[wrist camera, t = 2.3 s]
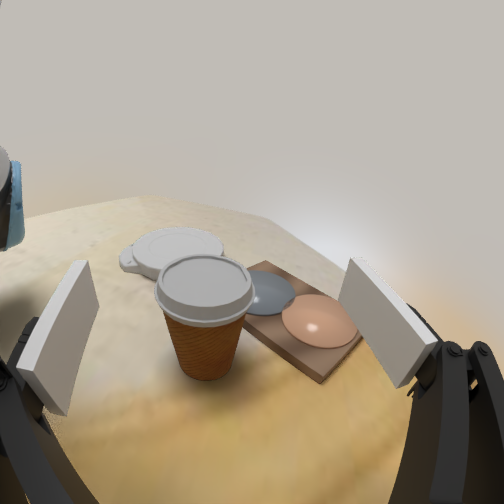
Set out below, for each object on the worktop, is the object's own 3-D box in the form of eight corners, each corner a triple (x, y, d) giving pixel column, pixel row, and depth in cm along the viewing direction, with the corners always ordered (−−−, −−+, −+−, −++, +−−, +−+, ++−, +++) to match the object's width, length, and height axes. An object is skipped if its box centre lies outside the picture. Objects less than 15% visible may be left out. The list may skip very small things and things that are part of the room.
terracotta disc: (264, 317, 36) (265, 314, 36) (311, 287, 43) (311, 286, 43) (331, 362, 30) (332, 360, 29) (368, 321, 37) (369, 319, 37)
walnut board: (202, 294, 41) (202, 286, 41) (264, 267, 51) (265, 260, 50) (319, 383, 28) (323, 376, 28) (369, 328, 38) (372, 321, 37)
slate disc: (207, 287, 41) (207, 285, 41) (258, 265, 48) (258, 263, 48) (259, 327, 34) (260, 325, 34) (309, 295, 41) (309, 293, 41)
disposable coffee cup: (234, 402, 26) (243, 322, 20) (152, 377, 27) (133, 293, 21) (252, 342, 34) (264, 261, 28) (183, 324, 35) (179, 245, 29)
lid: (125, 241, 54) (124, 228, 53) (215, 238, 60) (216, 225, 59) (112, 289, 40) (109, 273, 39) (231, 283, 46) (232, 268, 44)
